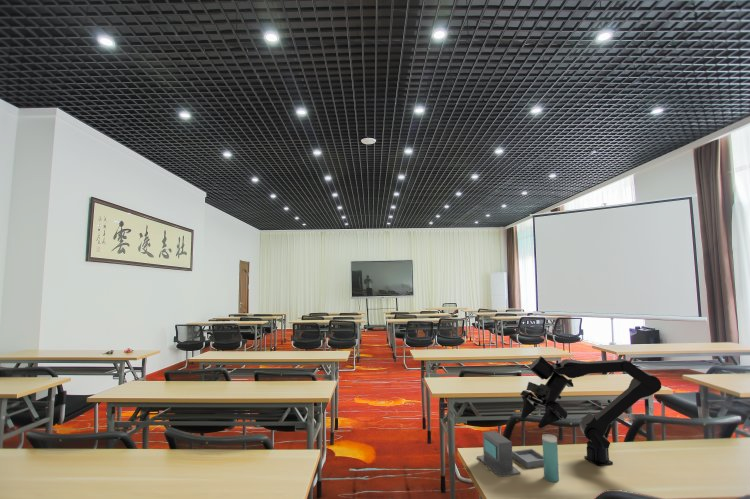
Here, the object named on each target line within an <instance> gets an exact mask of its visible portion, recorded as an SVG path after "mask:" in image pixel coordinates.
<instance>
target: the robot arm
mask: <svg viewBox="0 0 750 499" xmlns="http://www.w3.org/2000/svg"><path fill="white" fill-rule="evenodd" d="M528 370H529V371H531V372H532V373H533V374H535V376H536V377H538V378H539V379H540V380H546V383H545V384H543V383H540V384H539V385H538V384H536V383H533V382H531V381H528V383H527V386H526V390H525V389H524V390H522V391H521V392H520V397H521V399H522V401H523V406H522V410H521V416H520V418H521V419H522V420H525V419H526V418H527V417H528V416H529V415H531V414H532V413H533V412H534V411H535V410H536V409H537V408H536V407H538V406H542V407H544V409H545V410H544V411H545V412H544V413H543V416H542V418H541V419H540V421H539V422H538V424H537V427H538V428H539V429H542V428H545V427H546V426H549V425H551V424H553V423H555V422H558V421H562V420H564V421H566V419H567V417H568V416H569V415H568V411H567V410H566V409H565V408H564V407H563V406H562V405H561V403H559V402H556V401H557V400H561V399H562V396H561V395H562V392H563V391H564V390H565V388H566V387H568V388H574V387H575V386H574V383H573V380H572V379H577V378H581V377H584V376H587V375H589V374H590V375H591V374H603V373H623V372H624V373H626V374H627V375H629V376H630V377H631V378H632V379H631V380H630V383H629V386H628V387H627V388H626V389H625V390H624V391H623V392H622V393H620V394H619V395H618V396H617V397H616V398H615V399H613V400H612V401H611V402H610V403H609V404H607V405H606V406H605V407H604V408H602V409H601V411H599V412H597V413H594V414H592V412H590V411H588V412H587V413H586V415H584V416H582V417H581V418H580V419H581V420H580V422H579V429H580V431H581V432H582V434H583V435H584V437H585V438H586V439H588V440H587V441H586V455H584V457H583V458H584V459H586V460H587V461H590V462H591V463H592V464H594V465H596V466H607V465H613V463H614V462H613V461H612V460H610V456H609V454H610V452H609V448H610V446H611V441H609V439H608V438H607V437H606V436H605V434H606V433H607V430H608V429H609V427H610V425H611V424H612V423H613V422H614V421H615V420H617V419H618V418H619V417H620V416H622V415H623V414H624V413H625V412H626V411H628V409H630V408H631V407H632V406H634V404H636V403H637V402H638V401H639V400H641V399H644V398H647V397H650V396H652V395H654V394H656V393H658V392H659V391H660V390H661V389H662V382H661V380H660V379H659V378H658V377H657V376H655V375H653V374H651V373H650V372H648V371H643V370H642V369H641V368H639V367H637V366H636V365H634V364H633V362H632V361H630V360H628V359H626V358H621V359H612V360H611V359H610V360H594V361H593V360H591V361H585V360H577V359H569V358H568V359H567V358H565V359H563V360H561V361H560V362H557V363H552V364H551V363H550V362H548V361H547V360H546V359H545V358H544V357H543V356H542V355H540V356H539V357H538V358H536V359H535V360H534V361H532V363H531V364H530V365H529V367H528Z"/></svg>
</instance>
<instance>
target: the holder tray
mask: <svg viewBox="0 0 750 499" xmlns="http://www.w3.org/2000/svg"><path fill="white" fill-rule="evenodd" d="M512 459H514V460H516V461H517V462H518V463H520V465H523V466H524V467H525V468H527V469H532V468H538V467H544V463H543V454H541V453H540V452H538V451H536V450H535V449H533V448H528V449H527V448H526V449H519V450H512Z"/></svg>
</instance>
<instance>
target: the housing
mask: <svg viewBox="0 0 750 499" xmlns="http://www.w3.org/2000/svg"><path fill="white" fill-rule="evenodd" d="M482 443H483V444H482V446H483V448H482V450H483V454H482V455H477V456H476V459H478V460H479V461H480V462H481V463H482V464H484V466H486V467H487V468H488V469H490V470H491V471H492V472H493V473H494V474H495V475H496V476H497V477H498V478H503V477H504V478H505V477H509V476H510V477H511V476H516V475H521V471H520V470H519V469H517V468H516V467H515V466H513V465H514V464H513V463H514V462H513V457H512V451H513V442H512V441H511V440H509V438H507V437H505V436H504V435H502V434H501V433H499V432H497V430H491V431H490V430H489V431H482Z"/></svg>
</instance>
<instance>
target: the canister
mask: <svg viewBox="0 0 750 499" xmlns="http://www.w3.org/2000/svg"><path fill="white" fill-rule="evenodd" d="M541 439H542V455H543V463H544V466H543V478H544V479H545V480H547V481H548V482H553V483H556V482H560V472H559V468H560V467H559V453H558V437H557V436H556V435H554V434H550V433H543V434H542V437H541Z"/></svg>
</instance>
